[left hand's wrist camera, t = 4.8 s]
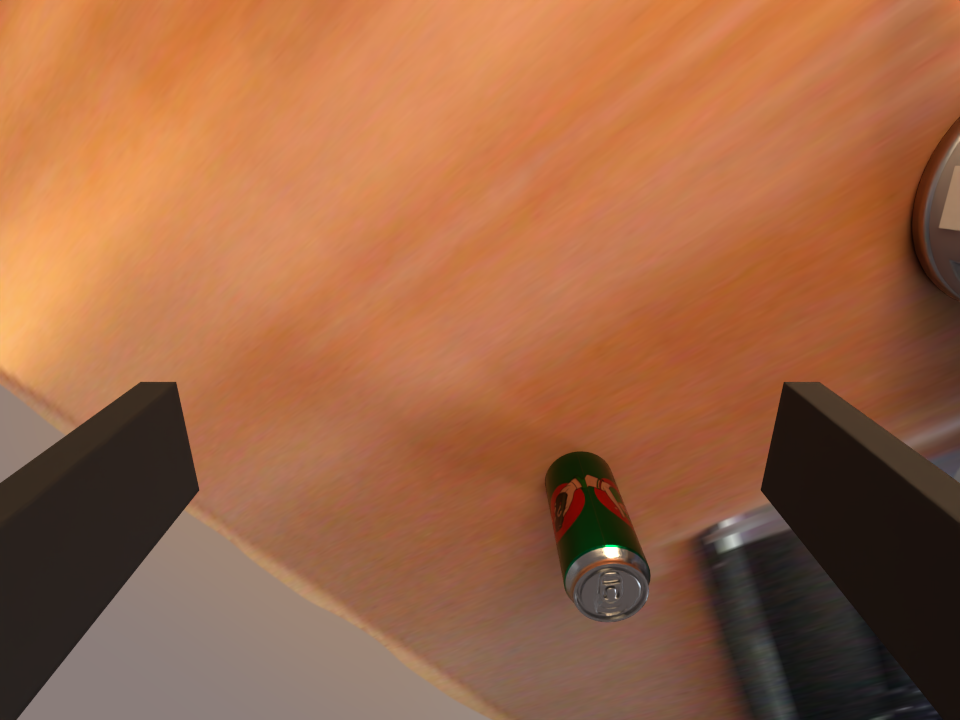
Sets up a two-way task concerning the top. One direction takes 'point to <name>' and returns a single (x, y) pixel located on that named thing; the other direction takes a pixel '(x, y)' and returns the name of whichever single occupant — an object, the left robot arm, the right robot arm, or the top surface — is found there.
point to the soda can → (595, 539)
